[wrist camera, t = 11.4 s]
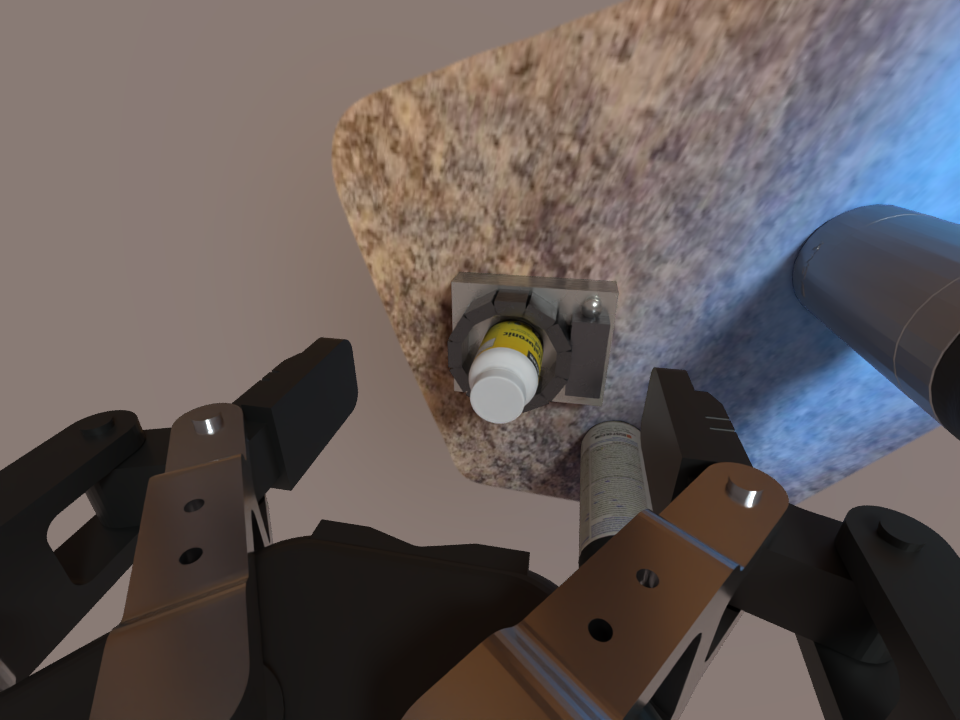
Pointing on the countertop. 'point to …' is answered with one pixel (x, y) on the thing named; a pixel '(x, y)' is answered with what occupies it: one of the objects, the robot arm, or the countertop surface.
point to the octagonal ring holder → (556, 315)
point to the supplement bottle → (506, 370)
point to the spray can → (610, 484)
